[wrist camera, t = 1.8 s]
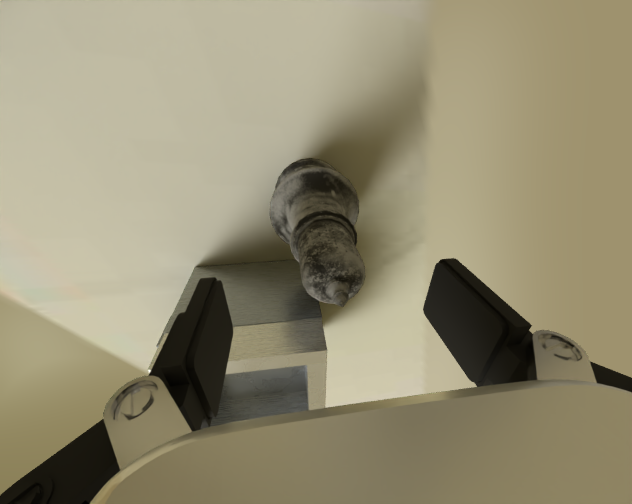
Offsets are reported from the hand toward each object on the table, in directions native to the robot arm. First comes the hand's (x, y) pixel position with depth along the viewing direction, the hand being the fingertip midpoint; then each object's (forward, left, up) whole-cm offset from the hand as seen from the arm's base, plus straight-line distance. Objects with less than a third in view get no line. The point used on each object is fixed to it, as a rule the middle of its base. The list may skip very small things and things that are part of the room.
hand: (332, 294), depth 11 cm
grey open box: (+12, -6, -10) cm, 17 cm away
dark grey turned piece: (-1, 0, -11) cm, 11 cm away
